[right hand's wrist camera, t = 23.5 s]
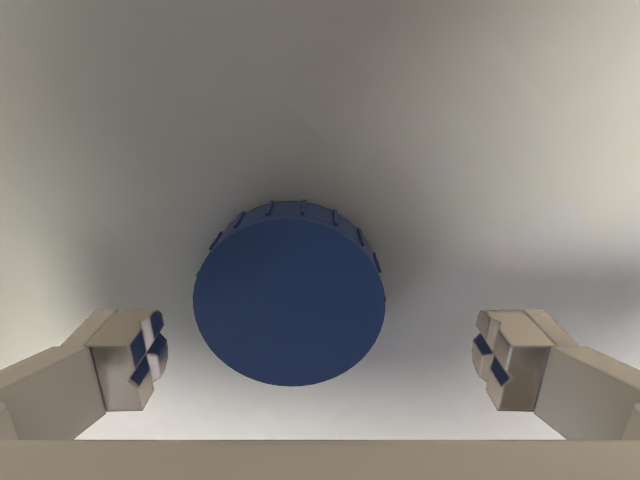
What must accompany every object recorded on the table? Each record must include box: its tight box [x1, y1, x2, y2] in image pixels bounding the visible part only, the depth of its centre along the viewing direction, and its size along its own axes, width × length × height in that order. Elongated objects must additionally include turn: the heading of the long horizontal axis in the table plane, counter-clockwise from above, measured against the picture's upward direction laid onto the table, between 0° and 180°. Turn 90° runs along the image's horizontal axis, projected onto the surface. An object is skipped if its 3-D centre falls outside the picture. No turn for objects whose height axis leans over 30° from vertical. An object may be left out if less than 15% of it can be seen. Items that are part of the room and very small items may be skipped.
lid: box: [193, 200, 386, 386], centre depth 13 cm, size 6×6×2 cm
